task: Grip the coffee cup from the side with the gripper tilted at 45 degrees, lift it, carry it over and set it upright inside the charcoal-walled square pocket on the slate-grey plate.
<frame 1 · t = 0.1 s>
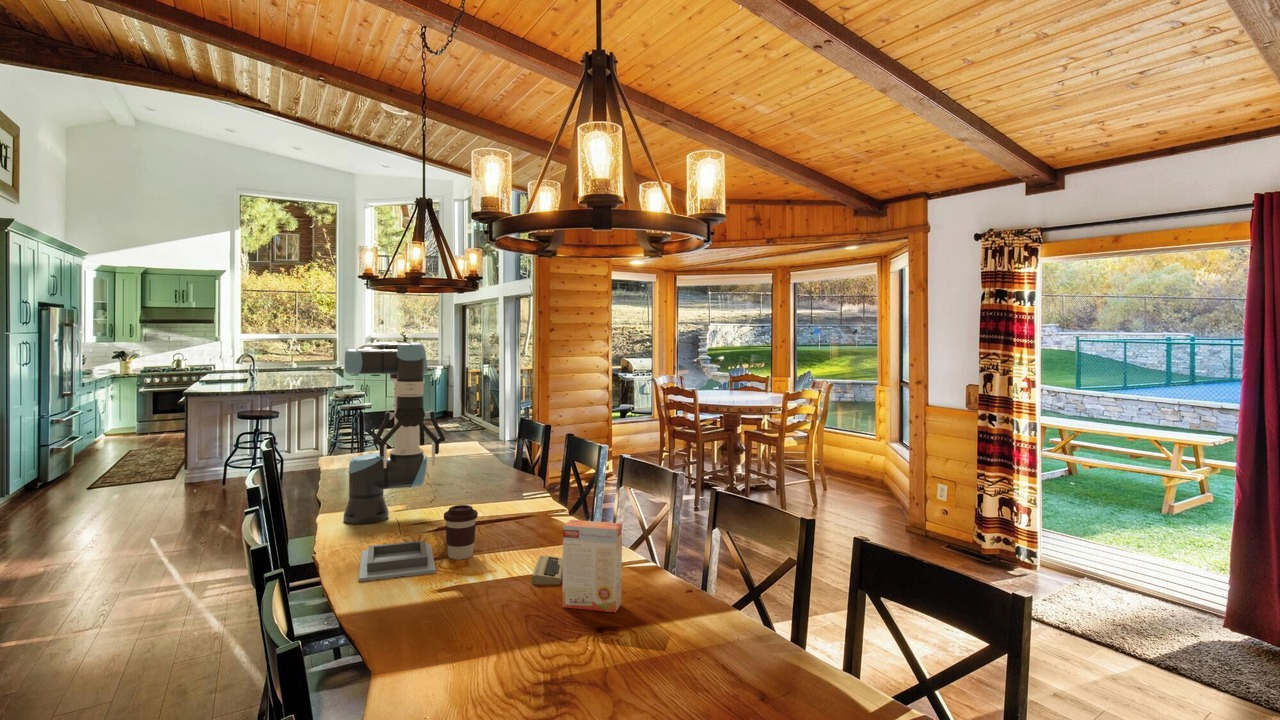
hand: (409, 466, 189), 28 cm above the table, tool pointing down, fingers open, 13 cm apart
cracker box: (592, 606, 158), on the table
pocket plate: (397, 563, 186), on the table
coffee cup: (460, 556, 193), on the table
computer: (548, 576, 180), on the table
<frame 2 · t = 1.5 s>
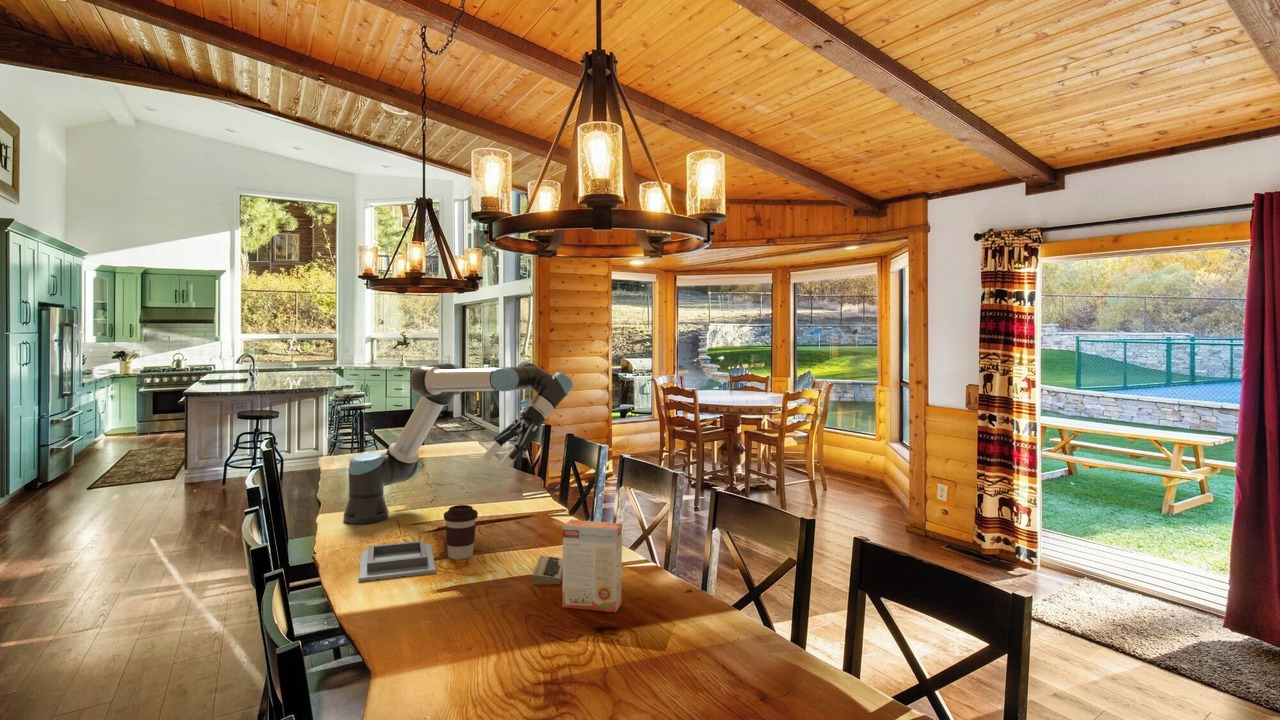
hand: (493, 462, 198), 28 cm above the table, tool tilted 45°, fingers open, 13 cm apart
nothing on the table moved.
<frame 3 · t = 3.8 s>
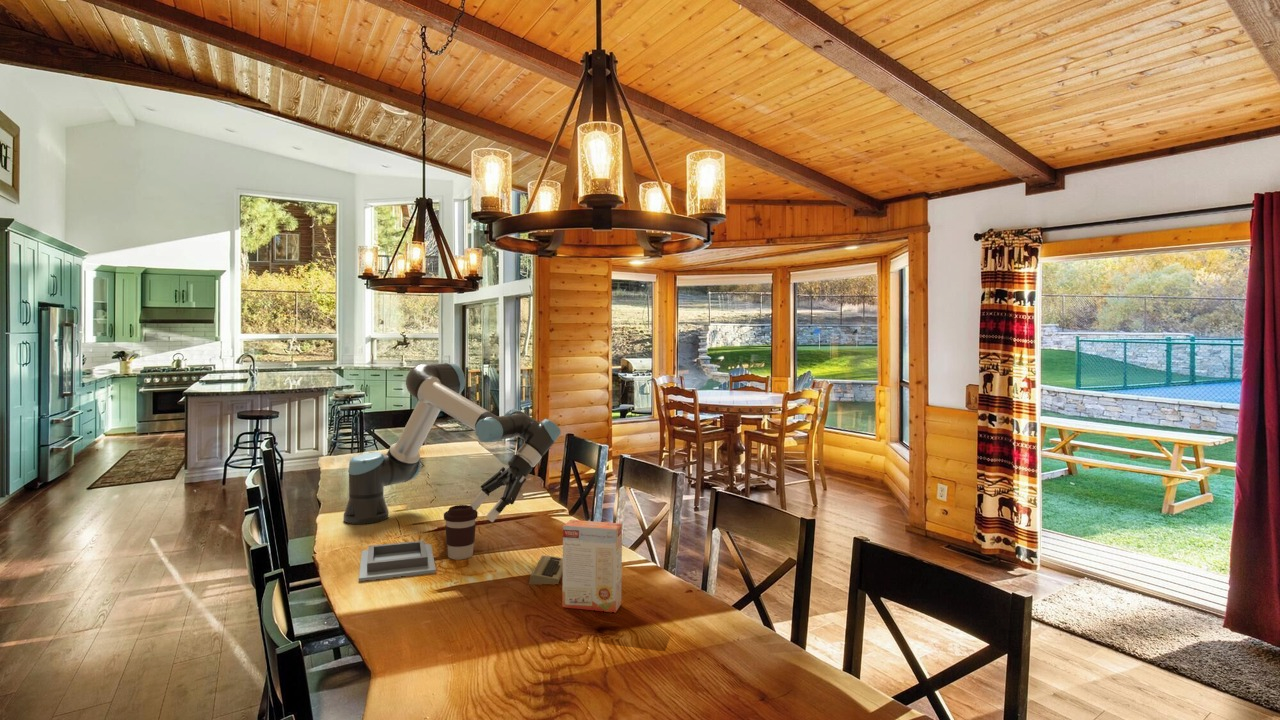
hand: (479, 514, 195), 12 cm above the table, tool tilted 45°, fingers open, 13 cm apart
nothing on the table moved.
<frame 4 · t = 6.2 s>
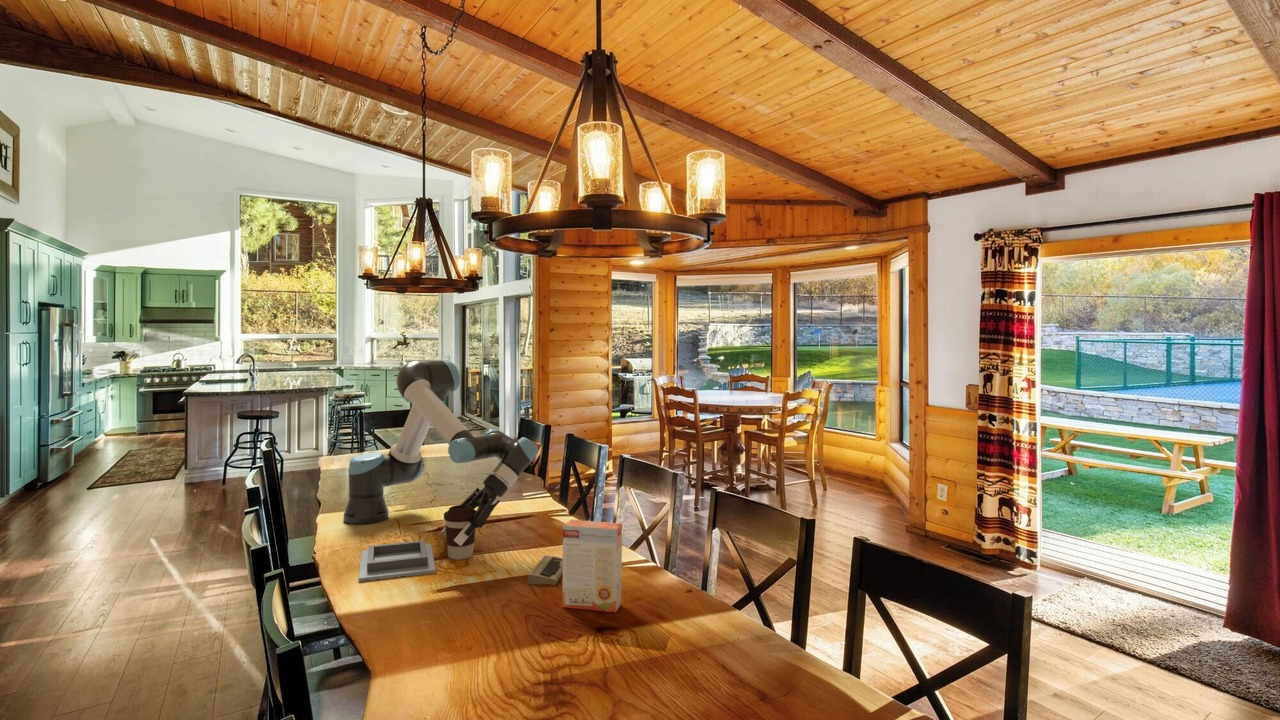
hand: (450, 538, 191), 6 cm above the table, tool tilted 45°, fingers closed on coffee cup, 10 cm apart
coffee cup: (460, 556, 193), on the table, touching gripper
everything else where it was.
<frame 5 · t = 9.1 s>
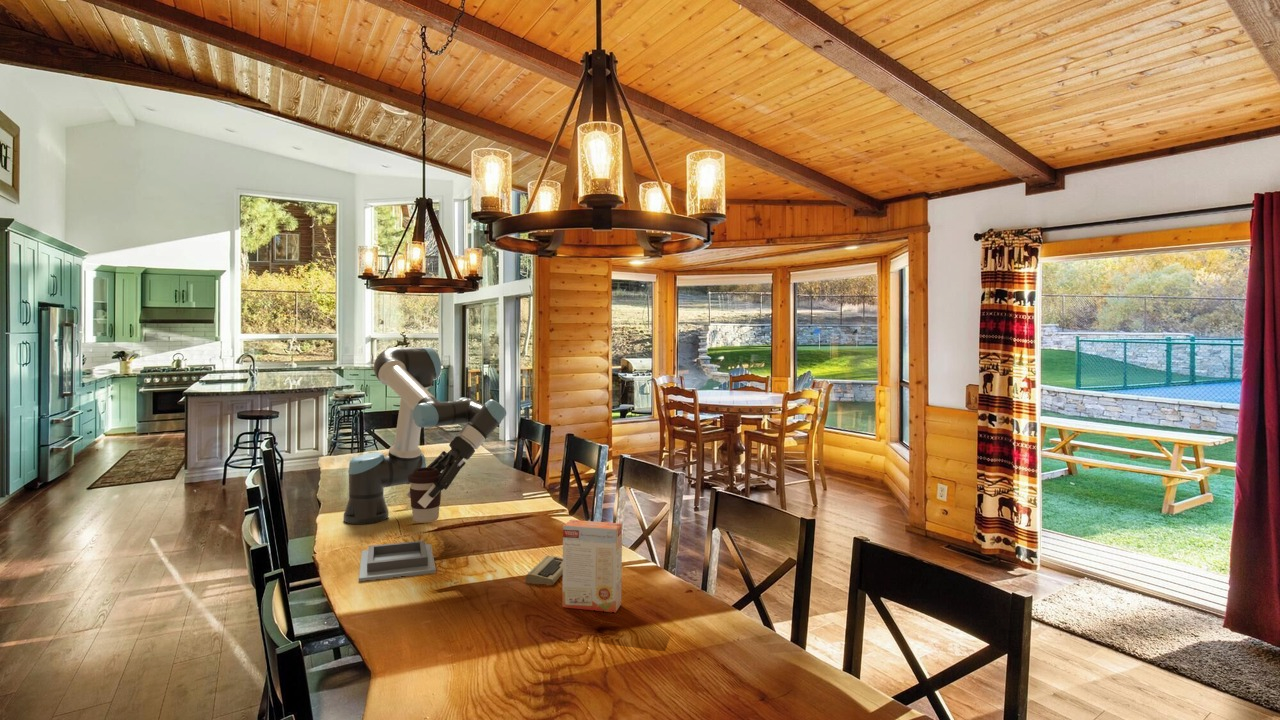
hand: (415, 501, 186), 18 cm above the table, tool tilted 45°, fingers closed on coffee cup, 10 cm apart
coffee cup: (425, 520, 188), point 12 cm above the table, touching gripper
when the fingers open (8 cm above the table, at t = 12.3 s): coffee cup drops 1 cm, resting on pocket plate.
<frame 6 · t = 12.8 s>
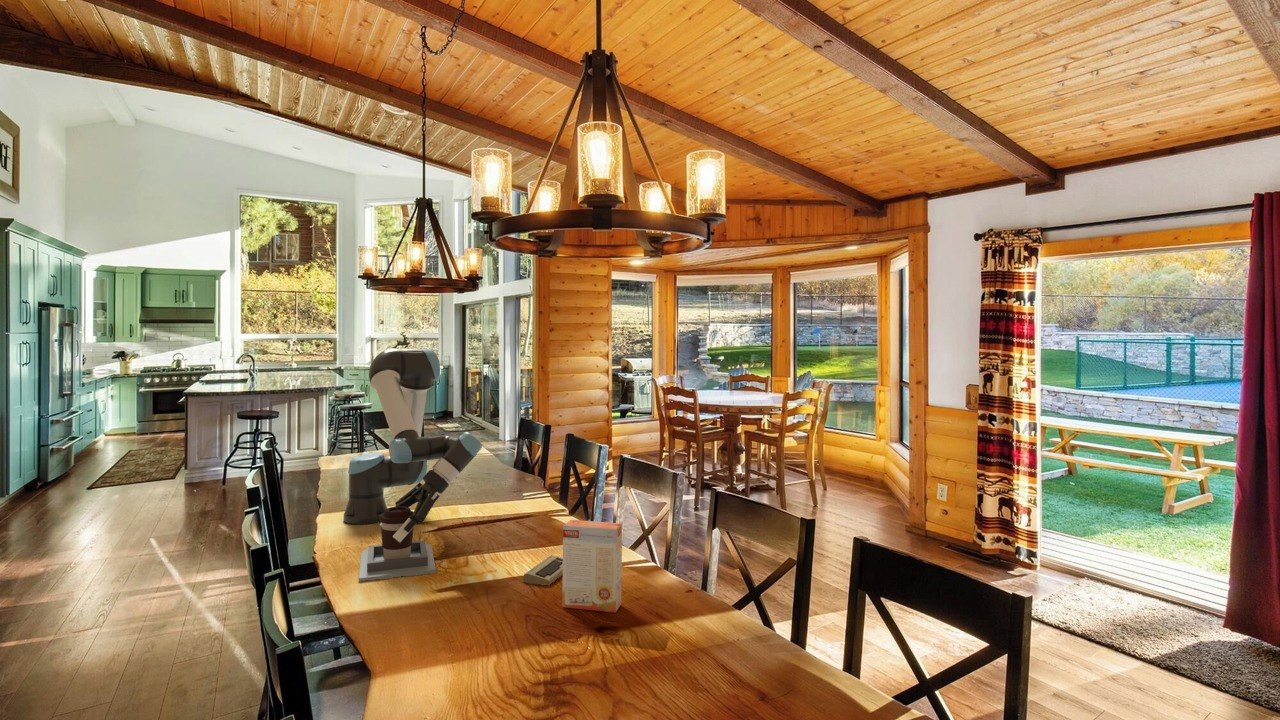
hand: (389, 533, 185), 9 cm above the table, tool tilted 45°, fingers open, 13 cm apart
coffee cup: (397, 560, 186), point 1 cm above the table, touching pocket plate
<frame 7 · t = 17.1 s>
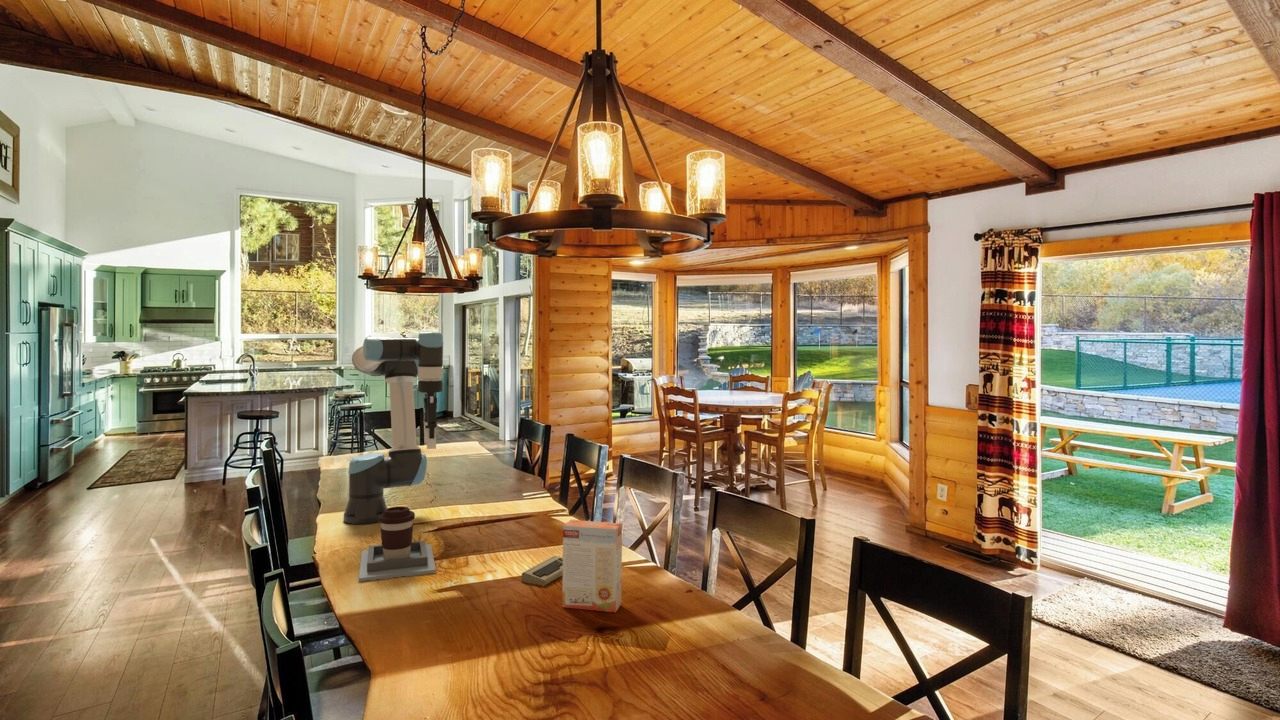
hand: (430, 445, 205), 32 cm above the table, tool pointing down, fingers open, 13 cm apart
at the end: coffee cup 0.2 cm off-centre on the pocket plate, point 0.8 cm above the pocket plate's base; coffee cup tilted 0°; the gripper is holding nothing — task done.
